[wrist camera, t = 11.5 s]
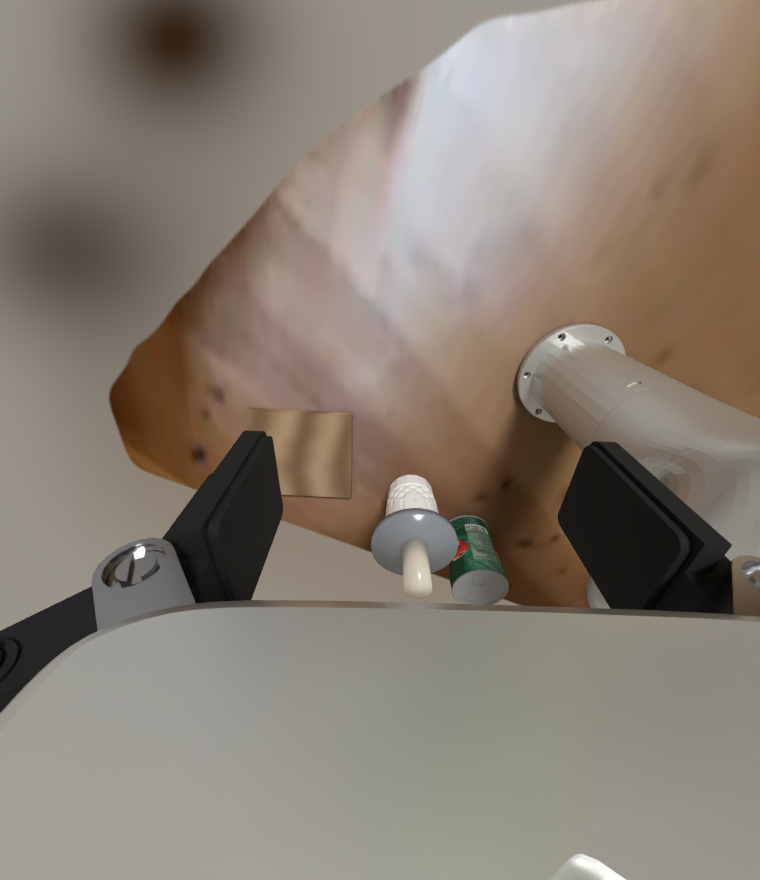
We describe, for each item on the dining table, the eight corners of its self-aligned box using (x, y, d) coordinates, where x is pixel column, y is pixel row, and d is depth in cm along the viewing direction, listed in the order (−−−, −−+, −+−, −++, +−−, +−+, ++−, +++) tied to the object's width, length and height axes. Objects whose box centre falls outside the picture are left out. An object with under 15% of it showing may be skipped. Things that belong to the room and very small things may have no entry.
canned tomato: (490, 545, 59) (510, 604, 49) (444, 551, 60) (455, 610, 50) (487, 510, 55) (508, 567, 46) (438, 518, 56) (448, 575, 47)
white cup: (411, 518, 56) (415, 569, 47) (374, 493, 54) (371, 542, 45) (446, 489, 53) (457, 538, 44) (408, 461, 50) (412, 507, 42)
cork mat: (352, 413, 47) (351, 416, 46) (351, 493, 54) (351, 498, 53) (248, 407, 46) (246, 411, 46) (261, 489, 54) (259, 493, 53)
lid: (462, 509, 42) (475, 556, 36) (450, 570, 47) (460, 620, 41) (372, 506, 42) (369, 553, 36) (370, 567, 47) (368, 616, 41)
